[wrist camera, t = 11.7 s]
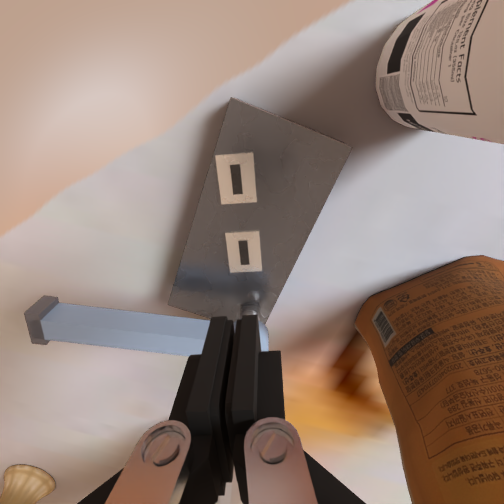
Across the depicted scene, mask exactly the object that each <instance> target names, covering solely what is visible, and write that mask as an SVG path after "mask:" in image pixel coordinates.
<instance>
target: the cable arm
mask: <svg viewBox="0 0 504 504" xmlns="http://www.w3.org/2000/svg"><path fill="white" fill-rule="evenodd" d="M24 315H25V319H26V323H27V326H28V330H29V334H30V338H31V342H32V343H33V344H41V345H47V343H48V342H49V341H50V340H53V341H61V342H70V343H78V344H87V345H96V346H104V347H113V348H121V349H130V350H139V351H147V352H156V353H164V354H173V355H182V356H190V355H196V354H202V350H203V346H204V342H205V339H206V335H207V331H208V328H209V324H210V320H202V319H193V318H185V317H176V316H168V315H159V314H150V313H142V312H133V311H125V310H116V309H108V308H99V307H91V306H82V305H74V304H65V303H59V301H58V297H52V296H43V297H42V298H41V299H40V300H38V301H37V302H36V303H35V304H34V305H33V306H31V307H30V308H29V309H28V310H27V311H26V312H25V313H24ZM258 322H259V332H260V342H261V351H268V330H267V327H266V326H265V325H264V324H263V323H262V322H261V321H259V320H258ZM235 329H236V321H235V322H234V330H235Z"/></svg>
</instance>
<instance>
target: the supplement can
mask: <svg viewBox="0 0 504 504" xmlns="http://www.w3.org/2000/svg"><path fill="white" fill-rule="evenodd" d="M376 91H377V94H378V98H379V101H380V104H381V107H382V108H383V109H384V110H385V112H386V113H387V114H388V115H389V116H390V118H391V119H392V120H394V121H396V122H398V123H400V124H402V125H404V126H406V127H409V128H415V129H421V130H426V131H432V132H438V133H443V134H449V135H455V136H461V137H466V138H472V139H478V140H483V141H489V142H495V143H500V144H504V0H434V1H432V2H430V3H429V4H427V5H425V6H424V7H422V8H420V9H419V10H417V11H416V12H415V13H413V14H412V15H411V16H410V17H408V18H407V19H406V20H405V21H403V22H402V23H401V24H400V25H398V27H397V28H396V29H395V31H394V32H393V34H392V35H391V37H390V38H389V39H388V41H387V42H386V44H385V45H384V47H383V50H382V53H381V56H380V59H379V62H378V65H377V69H376Z"/></svg>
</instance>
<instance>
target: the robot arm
mask: <svg viewBox="0 0 504 504" xmlns="http://www.w3.org/2000/svg"><path fill="white" fill-rule="evenodd" d="M77 504H366V503H364V502H363V501H362V500H361V499H360V498H359V497H357V496H356V495H355V494H354V493H353V492H352V491H350V490H349V489H348V488H347V487H346V486H345V485H343V484H342V483H341V482H340V481H339V480H338V479H336V478H335V477H334V476H333V475H332V474H331V473H329V472H328V471H327V470H326V469H325V468H324V467H323V466H321V465H320V464H319V463H318V462H317V461H316V460H314V459H313V458H312V457H311V456H310V455H309V454H307V453H306V452H305V451H304V450H303V447H302V444H301V440H300V437H299V435H298V432H297V430H296V429H295V428H294V427H293V425H292V424H291V423H289V422H287V421H286V420H285V411H284V395H283V381H282V366H281V352H280V351H261V342H260V332H259V322H258V315H257V314H255V315H243V316H242V319H237V321H236V329H235V330H234V323H233V320H228V318H227V316H218V317H211V320H210V324H209V328H208V331H207V335H206V339H205V342H204V346H203V350H202V354H196V355H190V356H189V358H188V361H187V364H186V367H185V370H184V373H183V376H182V379H181V383H180V386H179V389H178V392H177V395H176V398H175V401H174V404H173V408H172V411H171V414H170V417H169V420H168V421H164V422H160V423H158V424H156V425H154V426H153V427H151V428H150V429H149V430H148V431H146V432H145V433H144V434H143V436H142V437H141V439H140V440H139V441H138V443H137V445H136V447H135V449H134V451H133V452H132V454H131V456H130V458H129V460H128V462H127V463H126V465H125V467H124V468H123V469H122V470H121V471H119V472H118V473H117V474H115V475H114V476H113V477H111V478H110V479H109V480H107V481H106V482H105V483H104V484H102V485H101V486H100V487H98V488H97V489H96V490H94V491H93V492H92V493H90V494H89V495H88V496H87V497H85V498H84V499H83V500H81V501H80V502H79V503H77Z"/></svg>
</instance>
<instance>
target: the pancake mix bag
mask: <svg viewBox="0 0 504 504" xmlns="http://www.w3.org/2000/svg"><path fill="white" fill-rule="evenodd" d="M354 327H355V328H356V329H357V330H358V331H359V333H360V334H361V335H362V337H363V338H364V340H365V341H366V343H367V345H368V347H369V348H370V350H371V353H372V355H373V357H374V360H375V363H376V367H377V371H378V378H379V383H380V386H381V389H382V391H383V394H384V397H385V400H386V403H387V405H388V408H389V411H390V414H391V417H392V419H393V422H394V425H395V428H396V433H397V438H398V443H399V448H400V453H401V459H402V465H403V470H404V474H405V478H406V482H407V486H408V490H409V494H410V498H411V501H412V504H504V261H502V260H497V259H494V258H490V257H487V256H484V255H479V256H468V257H464V258H462V259H459V260H457V261H455V262H452V263H450V264H448V265H445V266H443V267H440V268H438V269H436V270H433V271H431V272H428V273H426V274H423V275H421V276H419V277H417V278H414V279H412V280H410V281H408V282H405V283H403V284H401V285H398V286H396V287H393V288H390V289H388V290H385V291H382V292H380V293H377V294H375V295H372V296H370V297H369V299H368V300H367V301H366V302H365V303H364V304H363V305H362V307H361V309H360V311H359V314H358V316H357V318H356V321H355V324H354Z"/></svg>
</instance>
